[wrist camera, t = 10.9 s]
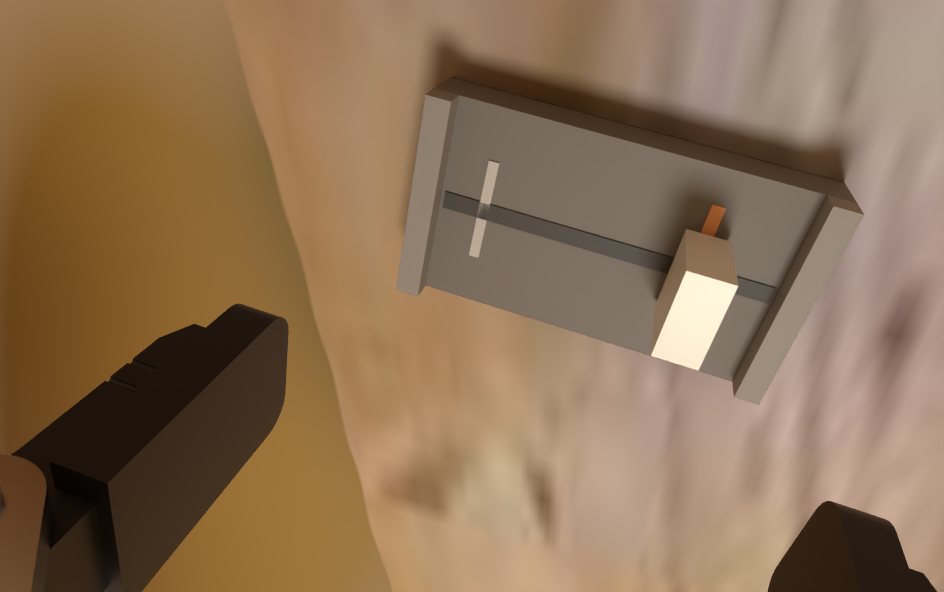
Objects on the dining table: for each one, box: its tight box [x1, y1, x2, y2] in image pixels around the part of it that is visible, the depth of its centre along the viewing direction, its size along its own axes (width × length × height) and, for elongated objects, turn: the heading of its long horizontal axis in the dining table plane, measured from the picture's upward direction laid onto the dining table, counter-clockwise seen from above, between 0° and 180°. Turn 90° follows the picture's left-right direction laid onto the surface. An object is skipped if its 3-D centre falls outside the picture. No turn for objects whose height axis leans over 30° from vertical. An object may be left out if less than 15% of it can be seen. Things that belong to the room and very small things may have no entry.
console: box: [396, 78, 864, 405], centre depth 38 cm, size 12×22×4 cm, turn 79°
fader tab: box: [651, 229, 738, 370], centre depth 34 cm, size 5×2×5 cm, turn 169°
